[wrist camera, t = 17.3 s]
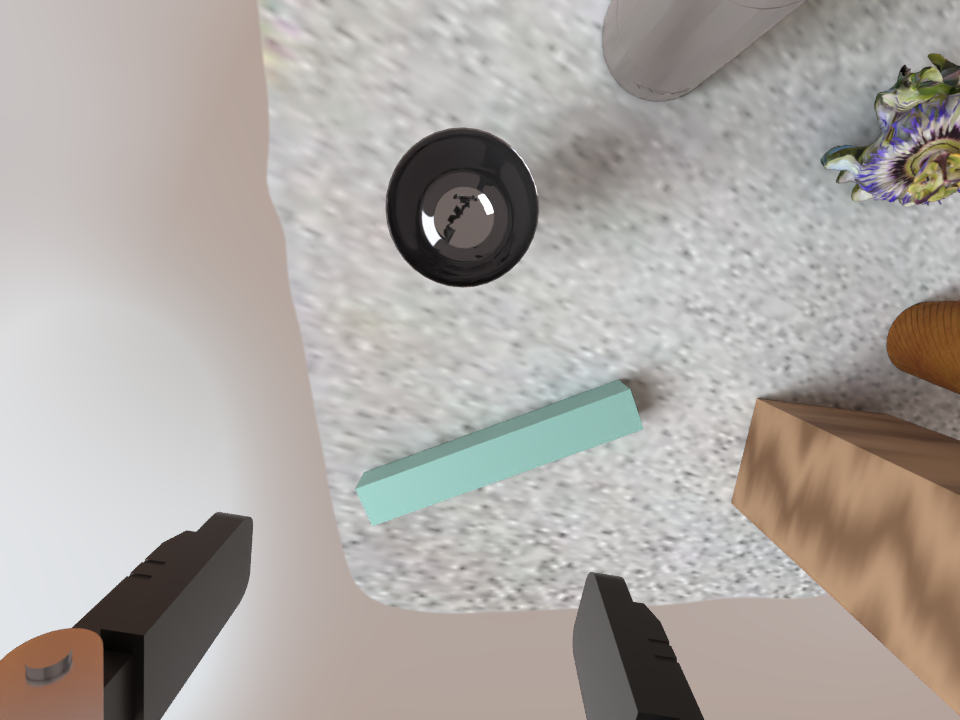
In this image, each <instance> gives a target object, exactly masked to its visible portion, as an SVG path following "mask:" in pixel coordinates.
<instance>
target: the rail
mask: <svg viewBox="0 0 960 720" xmlns="http://www.w3.org/2000/svg"><path fill="white" fill-rule="evenodd" d="M642 429H643V426H642V423H641V420H640V417H639V414H638V411H637V408H636V405H635V402H634V399H633V396H632V393H631V390H630V388H628V387H627V386H626V385H625V384H623V383H622V382H621V381H620V380H616V381H614V382H611V383H608V384H606V385H603V386H600V387H597V388H595V389H592V390H589V391H586V392H584V393H581V394H578V395H575V396H573V397H570V398H567V399H564V400H562V401H559V402H556V403H554V404H551V405H548V406H545V407H543V408H540V409H537V410H534V411H532V412H529V413H526V414H523V415H521V416H518V417H515V418H512V419H510V420H507V421H504V422H502V423H499V424H496V425H493V426H491V427H488V428H485V429H482V430H480V431H477V432H474V433H471V434H469V435H466V436H463V437H460V438H458V439H455V440H452V441H450V442H447V443H444V444H441V445H439V446H436V447H433V448H430V449H428V450H425V451H422V452H419V453H417V454H414V455H411V456H408V457H406V458H403V459H400V460H398V461H395V462H392V463H389V464H387V465H384V466H381V467H378V468H376V469H373V470H370V471H367V472H365V473H364V474H363V475H362V477H361V479H360V481H359V483H358V485H357V487H356V489H355V490H356V492H357V494H358V496H359V498H360V500H361V503H362V505H363V507H364V509H365V511H366V513H367V516H368V518H369V520H370V522H371V524H372V526H374V525H377V524H380V523H382V522H385V521H388V520H391V519H394V518H396V517H399V516H402V515H405V514H408V513H410V512H413V511H416V510H419V509H422V508H424V507H427V506H430V505H433V504H436V503H438V502H441V501H444V500H447V499H450V498H452V497H455V496H458V495H461V494H463V493H466V492H469V491H472V490H475V489H477V488H480V487H483V486H486V485H489V484H491V483H494V482H497V481H500V480H503V479H505V478H508V477H511V476H514V475H517V474H519V473H522V472H525V471H528V470H531V469H533V468H536V467H539V466H542V465H545V464H547V463H550V462H553V461H556V460H559V459H561V458H564V457H567V456H570V455H572V454H575V453H578V452H581V451H584V450H586V449H589V448H592V447H595V446H598V445H600V444H603V443H606V442H609V441H612V440H614V439H617V438H620V437H623V436H626V435H628V434H631V433H634V432H637V431H640V430H642Z"/></svg>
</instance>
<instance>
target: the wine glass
mask: <svg viewBox="0 0 960 720" xmlns="http://www.w3.org/2000/svg"><path fill="white" fill-rule="evenodd" d="M538 215H539V201H538V194H537V189H536V184H535V182H534V179H533V177H532V174H531V172H530V170H529V168H528V166H527V165H526V163H525V162H524V160H523V159H522V157H521V156H520V155H519V154H518V153H517V152H516V151H515V150H514V148H512V147H511V146H510V145H509V144H507V143H506V142H505V141H503V140H502V139H500V138H498V137H496V136H494V135H492V134H491V133H488V132H484V131H481V130H478V129H471V128H451V129H446V130H442V131H439V132H435V133H433V134H431V135H429V136H427V137H425V138H423V139H422V140H420V141H419V142H418V143H416V144H415V145H414V146H412V147H411V148H410V149H409V150H408V151H407V153H406V154H405V155H404V156H403V157H402V158H401V160H400V161H399V163H398V165H397V166H396V168H395V170H394V172H393V174H392V177H391V179H390V182H389V186H388V190H387V194H386V218H387V224H388V228H389V231H390V235H391V237H392V240H393V242H394V244H395V246H396V248H397V250H398V251H399V252H400V254H401V255H402V257H403V258H404V260H405V261H406V262H407V263H408V264H409V265H410V266H411V267H412V268H413V269H415V270H416V271H417V272H419V273H420V274H422V275H423V276H424V277H426V278H428V279H430V280H432V281H434V282H437V283H440V284H443V285H447V286H453V287H475V286H479V285H483V284H487V283H489V282H491V281H494V280H496V279H498V278H500V277H501V276H503V275H504V274H506V273H507V272H509V271H510V270H511V269H512V268H513V267H514V266H515V265H516V264H517V263H518V262H519V261H520V260H521V258H522V257H523V256H524V254H525V253H526V251H527V250H528V248H529V246H530V244H531V242H532V240H533V238H534V234H535V231H536V228H537V223H538Z"/></svg>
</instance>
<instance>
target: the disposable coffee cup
mask: <svg viewBox="0 0 960 720" xmlns="http://www.w3.org/2000/svg"><path fill="white" fill-rule="evenodd" d="M887 352H888V355H889V358H890V360H891V362H892V363H893V364H894V365H895V366H896V367H897V368H898V369H900V370H901V371H904V372H906V373H909V374H911V375H914V376H916V377H919V378H921V379H923V380H926V381H928V382H931V383H933V384H935V385H938V386H940V387H943V388H945V389H948V390H950V391H953V392H955V393H958V394H960V301H948V302H947V301H943V302H923V303H919V304H916V305H913V306H911V307H909V308H908V309H906V310H905V311H903V312H902V313H901V314H900V315H899V316H898V317H897V318H896V320H895V321H894V322H893V324H892V326H891V328H890V330H889V333H888V337H887Z"/></svg>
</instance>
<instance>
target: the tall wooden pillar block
mask: <svg viewBox="0 0 960 720" xmlns="http://www.w3.org/2000/svg"><path fill="white" fill-rule="evenodd" d="M731 503H732V504H733V505H734V506H735V507H736V508H737V509H738V510H739V511H740V512H741V513H742V514H743V515H745V516H746V517H747V518H748V519H749V520H750V521H751V522H752V523H753V524H754V525H755V526H756V527H757V528H759V529H760V530H761V531H762V532H763V533H764V534H765V535H766V536H767V537H768V538H769V539H770V540H771V541H773V542H774V543H775V544H776V545H777V546H778V547H779V548H780V549H781V550H782V551H783V552H784V553H785V554H786V555H788V556H789V557H790V558H791V559H792V560H793V561H794V562H795V563H796V564H797V565H798V566H799V567H800V568H802V569H803V570H804V571H805V572H806V573H807V574H808V575H809V576H810V577H811V578H812V579H813V580H814V581H816V582H817V583H818V584H819V585H820V586H821V587H822V588H823V589H824V590H825V591H826V592H827V593H828V594H829V595H831V596H832V597H833V598H834V599H835V600H836V601H837V602H838V603H839V604H840V605H842V607H844V608H845V609H846V610H847V611H848V612H849V613H850V614H851V615H852V616H853V617H854V618H855V619H856V620H857V621H859V622H860V623H861V624H862V625H863V626H864V627H865V628H866V629H867V630H868V631H869V632H870V633H872V634H873V635H874V636H875V637H876V638H877V639H878V640H879V641H880V642H881V643H882V644H883V645H884V646H885V647H886V648H888V649H889V650H890V651H891V652H892V653H893V654H894V655H895V656H896V657H897V658H898V659H900V660H901V661H902V662H903V663H904V664H905V665H906V666H907V667H908V668H909V669H910V670H911V671H913V673H915V674H916V675H917V676H918V677H919V678H920V679H921V680H922V681H923V682H924V683H925V684H926V685H927V686H929V688H931V689H932V690H933V691H934V692H935V693H936V694H937V695H938V696H939V697H940V698H941V699H942V700H944V701H945V702H946V703H947V704H948V705H949V706H950V707H951V708H952V709H953V710H954V711H956V713H958V714H959V715H960V441H959V440H956V439H954V438H951V437H948V436H946V435H943V434H940V433H937V432H935V431H932V430H929V429H926V428H924V427H921V426H918V425H915V424H913V423H910V422H907V421H904V420H902V419H899V418H896V417H893V416H891V415H887V414H879V413H871V412H863V411H854V410H846V409H838V408H830V407H822V406H814V405H805V404H797V403H789V402H781V401H773V400H765V399H757V400H756V404H755V408H754V412H753V416H752V421H751V425H750V429H749V433H748V437H747V441H746V445H745V449H744V453H743V457H742V461H741V466H740V470H739V474H738V478H737V482H736V486H735V490H734V494H733V498H732V502H731Z"/></svg>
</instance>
